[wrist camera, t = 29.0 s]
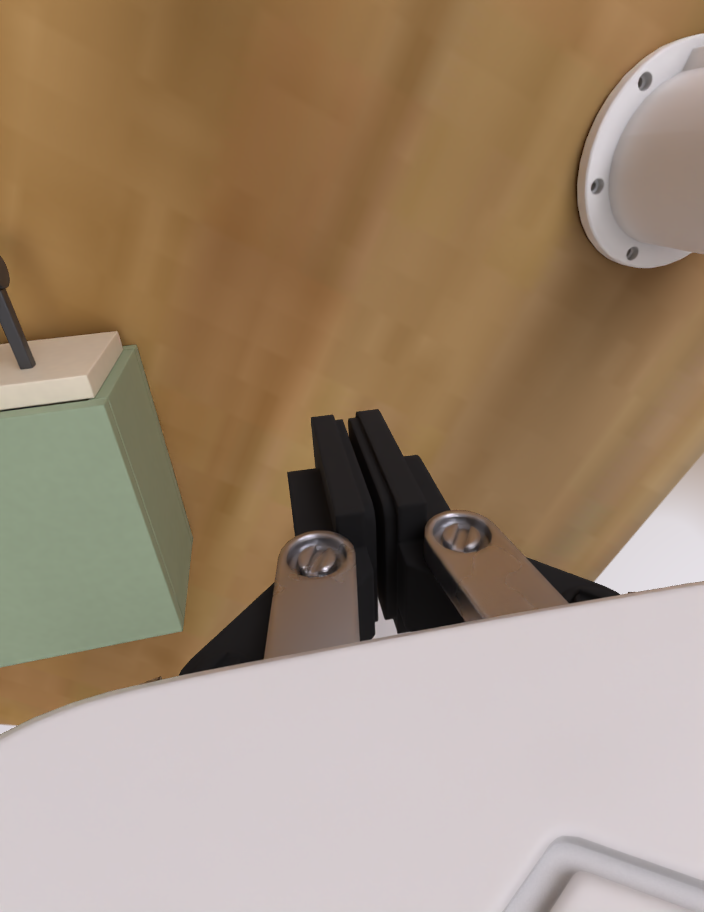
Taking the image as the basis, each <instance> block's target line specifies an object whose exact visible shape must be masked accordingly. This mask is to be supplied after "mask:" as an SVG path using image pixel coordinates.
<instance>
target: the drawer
mask: <svg viewBox="0 0 704 912" xmlns="http://www.w3.org/2000/svg"><path fill="white" fill-rule="evenodd" d="M9 283H10V278H9V273H8V269H7V267H6V264H5V262H4V260H3V259H2V257H1V256H0V323H1V325H2V328H3V330H4V332H5V335H6V337H7V339H8V342H9V343H7V344H0V411H2V410H6V409H14V408H22V407H29V406H50V405H57V404H65V403H73V402H80V401H88V400H89V399H91V398H95V396H96V395H97V393H98V391H99V390H100V388H101V386H102V385H103V383H104V381H105V380H106V378H107V376H108V375H109V373H110V371H111V370H112V368H113V366H114V365H115V363H116V361H117V360H118V358H119V356H120V355H121V353H122V351H123V347H122V344H121V340H120V337H119V334H118V332H117V331H114V332H105V333H96V334H87V335H78V336H69V337H61V338H52V339H43V340H34V341H27V340H26V338H25V335H24V333H23V331H22V328H21V326H20V323H19V321H18V318H17V316H16V313H15V311H14V309H13V306H12V304H11V301H10V299H9V296H8V294H7V291H6V289H5V288H7V287H8V286H9Z"/></svg>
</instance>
